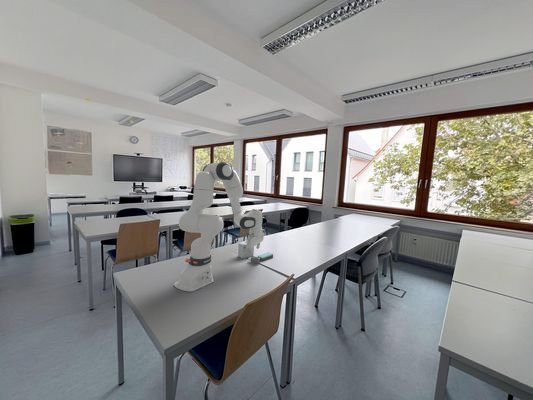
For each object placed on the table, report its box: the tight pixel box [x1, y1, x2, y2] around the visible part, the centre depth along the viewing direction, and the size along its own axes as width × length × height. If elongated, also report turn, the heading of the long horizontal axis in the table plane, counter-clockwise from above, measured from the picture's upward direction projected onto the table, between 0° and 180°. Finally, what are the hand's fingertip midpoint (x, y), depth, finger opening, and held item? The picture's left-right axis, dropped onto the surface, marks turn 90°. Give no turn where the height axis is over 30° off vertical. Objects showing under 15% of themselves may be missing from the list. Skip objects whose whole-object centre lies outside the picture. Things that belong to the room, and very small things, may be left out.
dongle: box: [247, 256, 261, 265], centre depth 160 cm, size 8×4×4 cm, turn 64°
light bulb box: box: [237, 240, 255, 259], centre depth 172 cm, size 11×7×11 cm, turn 130°
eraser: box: [257, 251, 274, 262], centre depth 169 cm, size 12×5×3 cm, turn 137°
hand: (254, 250), depth 160 cm, fingers open, 8 cm apart
